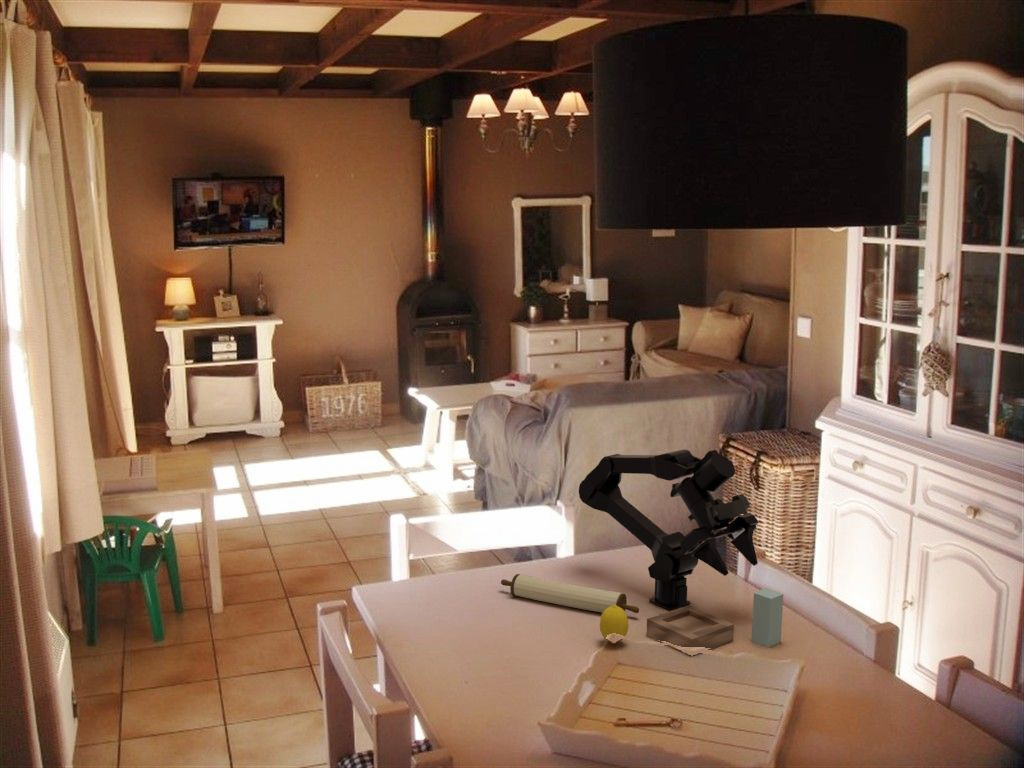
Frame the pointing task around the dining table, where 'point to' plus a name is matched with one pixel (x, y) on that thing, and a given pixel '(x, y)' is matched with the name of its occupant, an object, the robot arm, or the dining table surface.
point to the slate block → (767, 617)
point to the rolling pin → (566, 594)
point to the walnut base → (690, 628)
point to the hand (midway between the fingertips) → (741, 569)
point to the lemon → (614, 621)
